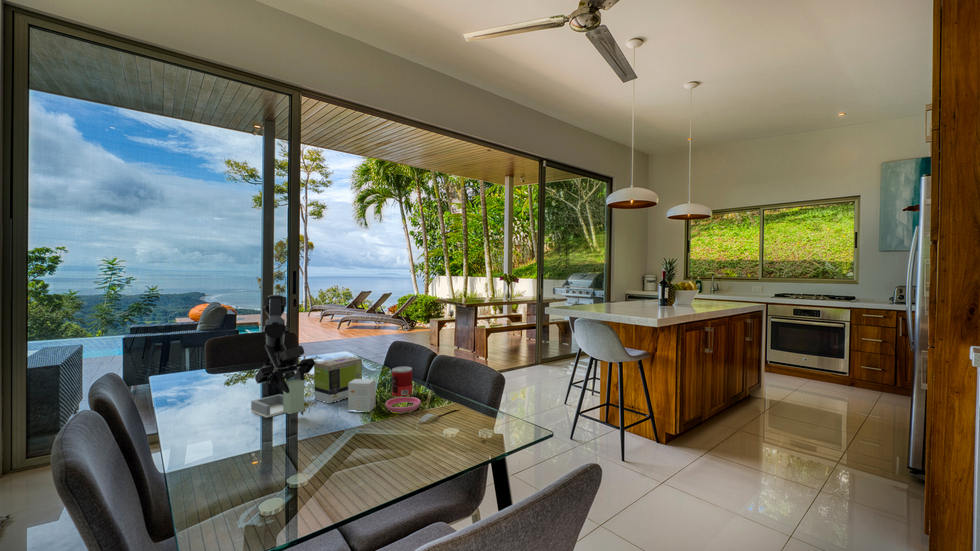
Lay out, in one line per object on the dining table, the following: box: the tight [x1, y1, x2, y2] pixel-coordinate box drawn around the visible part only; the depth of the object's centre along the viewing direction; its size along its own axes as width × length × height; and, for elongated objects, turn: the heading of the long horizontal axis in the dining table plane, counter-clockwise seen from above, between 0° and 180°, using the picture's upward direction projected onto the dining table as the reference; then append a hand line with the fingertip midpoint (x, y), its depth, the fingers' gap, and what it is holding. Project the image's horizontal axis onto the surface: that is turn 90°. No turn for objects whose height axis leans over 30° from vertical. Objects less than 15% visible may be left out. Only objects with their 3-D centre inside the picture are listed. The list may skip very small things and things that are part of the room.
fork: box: [418, 413, 437, 423], centre depth 147 cm, size 3×21×3 cm, turn 142°
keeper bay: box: [250, 394, 286, 418], centre depth 150 cm, size 10×10×4 cm
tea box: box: [313, 355, 363, 404], centre depth 166 cm, size 15×10×15 cm
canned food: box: [391, 366, 413, 397], centre depth 168 cm, size 8×8×11 cm
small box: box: [347, 378, 376, 412], centre depth 151 cm, size 8×6×10 cm
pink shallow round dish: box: [384, 396, 422, 413], centre depth 153 cm, size 12×12×3 cm
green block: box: [282, 378, 305, 415], centre depth 143 cm, size 4×5×10 cm
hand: (296, 390), depth 142 cm, fingers closed on green block, 5 cm apart
